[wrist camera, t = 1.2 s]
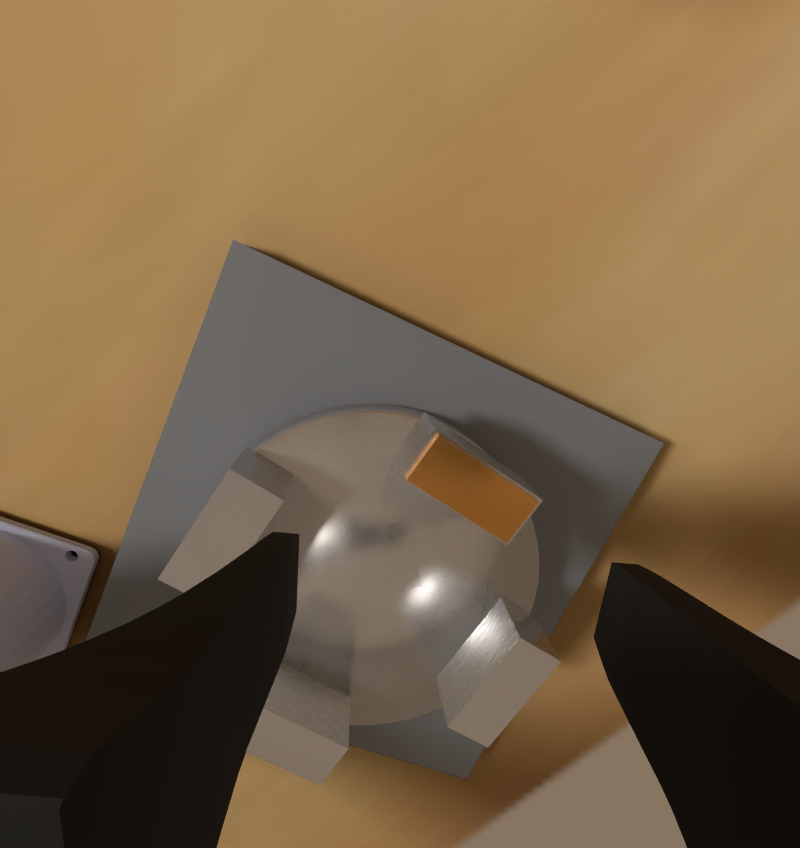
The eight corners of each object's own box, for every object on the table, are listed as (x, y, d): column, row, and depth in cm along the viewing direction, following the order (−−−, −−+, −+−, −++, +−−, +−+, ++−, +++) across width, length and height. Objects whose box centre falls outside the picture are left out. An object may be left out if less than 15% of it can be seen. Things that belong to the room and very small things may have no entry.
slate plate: (94, 642, 23) (74, 667, 22) (242, 244, 19) (232, 239, 18) (460, 753, 27) (466, 781, 25) (644, 434, 23) (666, 444, 21)
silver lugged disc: (152, 639, 21) (97, 730, 17) (273, 337, 19) (246, 347, 14) (443, 730, 24) (464, 829, 19) (587, 475, 21) (649, 522, 17)
